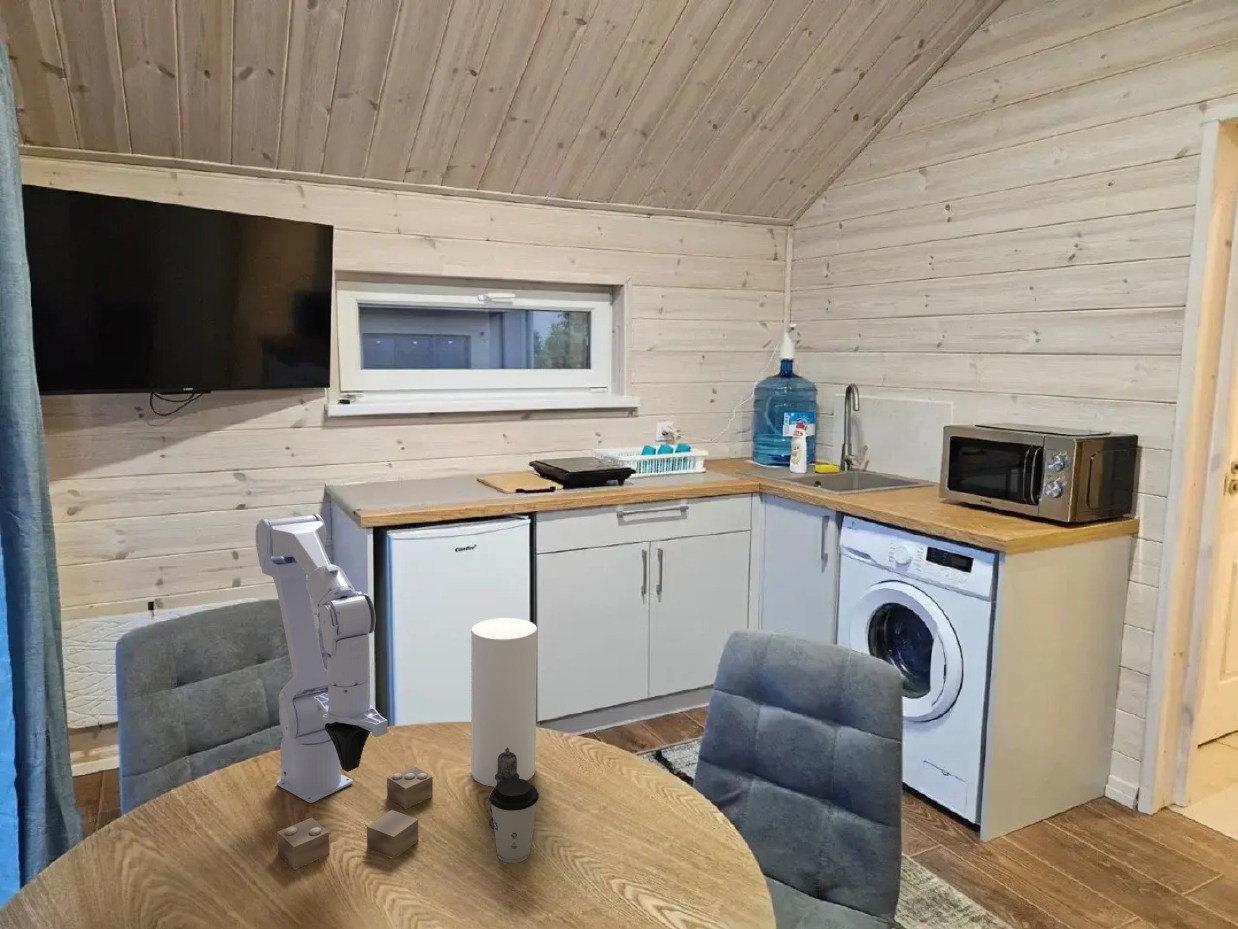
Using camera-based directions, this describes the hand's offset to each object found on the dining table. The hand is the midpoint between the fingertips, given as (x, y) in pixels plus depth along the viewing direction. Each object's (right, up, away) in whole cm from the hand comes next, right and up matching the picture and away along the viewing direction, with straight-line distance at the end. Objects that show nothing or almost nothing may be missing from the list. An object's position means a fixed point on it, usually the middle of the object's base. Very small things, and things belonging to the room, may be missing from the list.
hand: (350, 768), depth 122 cm
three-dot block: (+6, -8, +10) cm, 15 cm away
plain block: (+7, -10, -2) cm, 13 cm away
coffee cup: (+24, -11, -4) cm, 27 cm away
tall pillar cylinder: (+20, -8, +19) cm, 28 cm away
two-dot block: (-5, -10, -5) cm, 12 cm away
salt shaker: (+22, -10, +4) cm, 25 cm away
